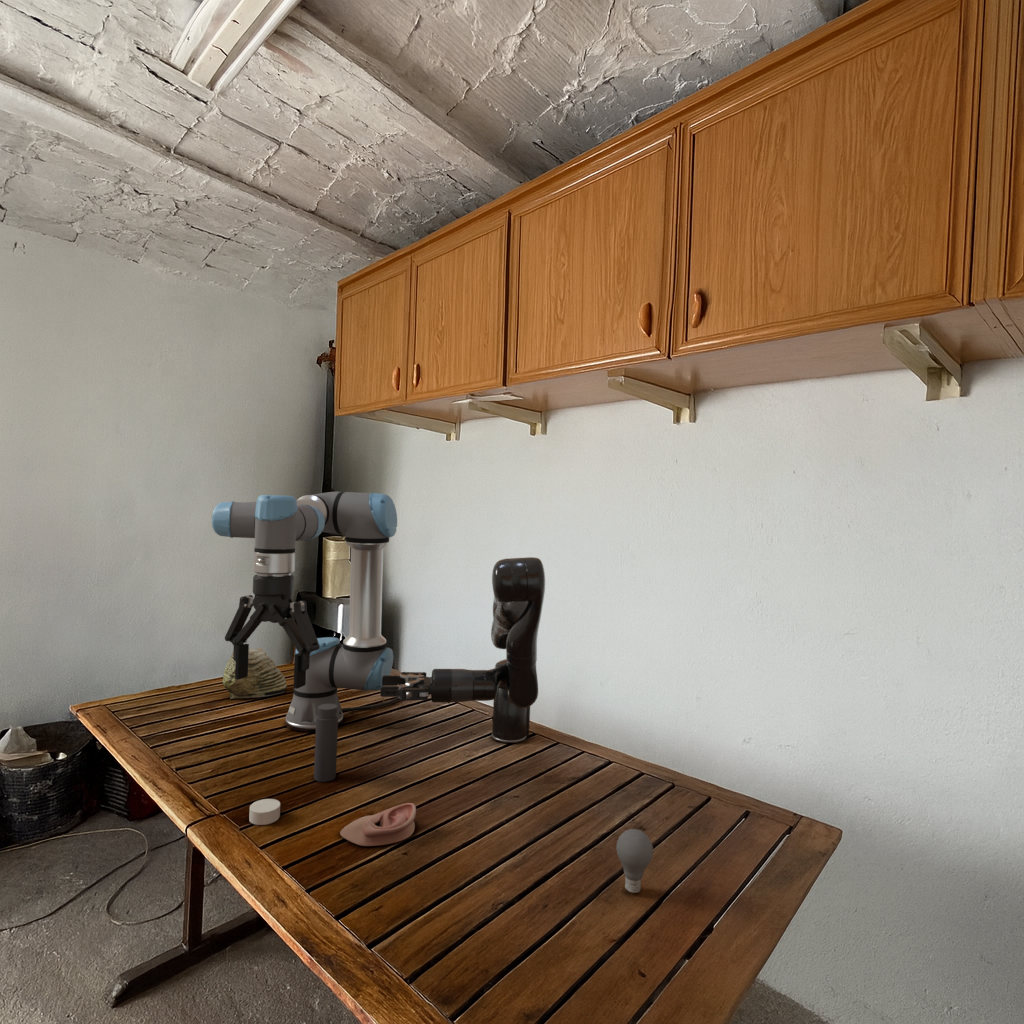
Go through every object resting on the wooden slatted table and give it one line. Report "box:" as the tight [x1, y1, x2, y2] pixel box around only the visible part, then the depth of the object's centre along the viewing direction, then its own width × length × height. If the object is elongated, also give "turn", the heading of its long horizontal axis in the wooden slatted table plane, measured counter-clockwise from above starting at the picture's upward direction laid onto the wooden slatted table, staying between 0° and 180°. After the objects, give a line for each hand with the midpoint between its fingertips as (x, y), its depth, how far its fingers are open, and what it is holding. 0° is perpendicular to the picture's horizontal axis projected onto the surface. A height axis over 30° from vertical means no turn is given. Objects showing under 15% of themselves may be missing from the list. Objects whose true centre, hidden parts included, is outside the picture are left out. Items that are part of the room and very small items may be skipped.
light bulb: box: [615, 828, 654, 894], centre depth 106 cm, size 6×6×10 cm
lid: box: [248, 798, 281, 826], centre depth 124 cm, size 6×6×2 cm
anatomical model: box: [339, 802, 417, 847], centre depth 121 cm, size 13×4×12 cm
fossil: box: [222, 647, 288, 699], centre depth 198 cm, size 9×18×15 cm, turn 132°
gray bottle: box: [313, 704, 339, 783], centre depth 143 cm, size 5×5×16 cm
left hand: (269, 682), depth 124 cm, fingers open, 13 cm apart
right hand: (381, 685), depth 144 cm, fingers open, 8 cm apart
